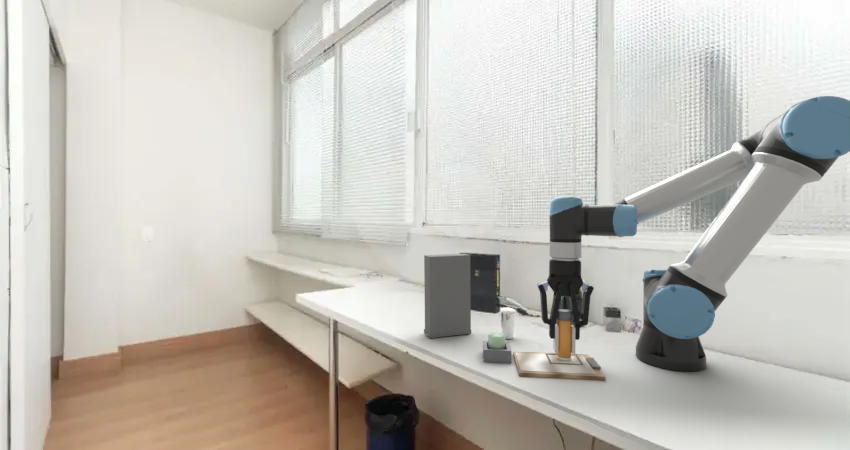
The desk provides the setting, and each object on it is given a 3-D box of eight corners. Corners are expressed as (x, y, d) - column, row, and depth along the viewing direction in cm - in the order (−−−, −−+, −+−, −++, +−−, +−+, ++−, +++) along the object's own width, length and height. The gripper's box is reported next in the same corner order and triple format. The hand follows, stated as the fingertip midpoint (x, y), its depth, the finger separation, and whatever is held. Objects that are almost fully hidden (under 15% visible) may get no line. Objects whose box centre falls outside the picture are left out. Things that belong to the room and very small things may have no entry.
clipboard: (588, 357, 100) (588, 352, 100) (606, 380, 86) (606, 373, 86) (513, 354, 102) (513, 349, 102) (518, 375, 89) (518, 370, 89)
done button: (504, 347, 102) (504, 333, 102) (505, 353, 98) (505, 338, 98) (488, 347, 103) (487, 332, 103) (488, 353, 99) (488, 337, 99)
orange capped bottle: (569, 356, 98) (570, 309, 98) (573, 361, 95) (573, 313, 94) (555, 355, 99) (555, 309, 98) (558, 360, 95) (558, 312, 95)
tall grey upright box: (463, 328, 127) (462, 253, 126) (471, 334, 121) (470, 255, 120) (423, 333, 122) (422, 255, 122) (429, 339, 116) (429, 256, 116)
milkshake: (518, 340, 114) (518, 307, 114) (500, 339, 115) (499, 306, 115) (517, 335, 119) (517, 303, 118) (500, 334, 120) (499, 303, 119)
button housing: (509, 353, 104) (509, 342, 104) (511, 362, 97) (511, 351, 97) (483, 352, 105) (483, 341, 105) (483, 361, 98) (483, 349, 98)
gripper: (595, 257, 99) (593, 348, 99) (529, 256, 101) (528, 344, 101) (604, 261, 91) (603, 358, 92) (533, 259, 93) (532, 355, 94)
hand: (564, 351), depth 97 cm, fingers closed on orange capped bottle, 3 cm apart
